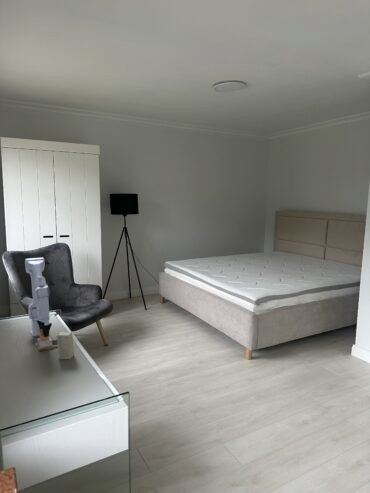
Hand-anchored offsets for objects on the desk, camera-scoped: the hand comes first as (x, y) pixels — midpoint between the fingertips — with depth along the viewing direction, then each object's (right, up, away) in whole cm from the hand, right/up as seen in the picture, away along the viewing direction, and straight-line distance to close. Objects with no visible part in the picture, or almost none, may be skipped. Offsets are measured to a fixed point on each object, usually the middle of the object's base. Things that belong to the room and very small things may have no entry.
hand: (44, 334), depth 179 cm
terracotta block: (0, -3, 0) cm, 3 cm away
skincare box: (+15, -8, -12) cm, 21 cm away
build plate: (+1, -6, +2) cm, 7 cm away
